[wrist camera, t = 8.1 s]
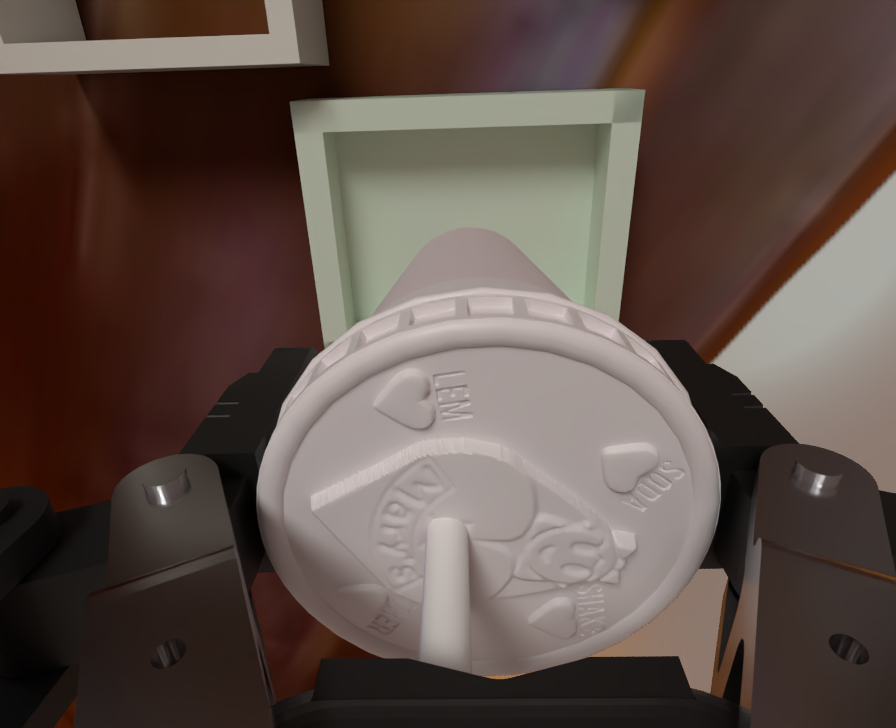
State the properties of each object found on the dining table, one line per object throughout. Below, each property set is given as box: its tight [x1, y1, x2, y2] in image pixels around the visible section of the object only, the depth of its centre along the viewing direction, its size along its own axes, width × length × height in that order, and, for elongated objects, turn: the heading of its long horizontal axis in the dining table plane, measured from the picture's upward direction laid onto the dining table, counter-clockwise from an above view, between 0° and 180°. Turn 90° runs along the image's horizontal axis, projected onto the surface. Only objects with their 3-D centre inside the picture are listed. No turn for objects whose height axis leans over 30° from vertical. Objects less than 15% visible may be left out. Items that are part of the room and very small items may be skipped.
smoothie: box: [256, 227, 721, 676], centre depth 10 cm, size 6×6×14 cm
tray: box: [290, 88, 645, 349], centre depth 23 cm, size 12×10×3 cm
